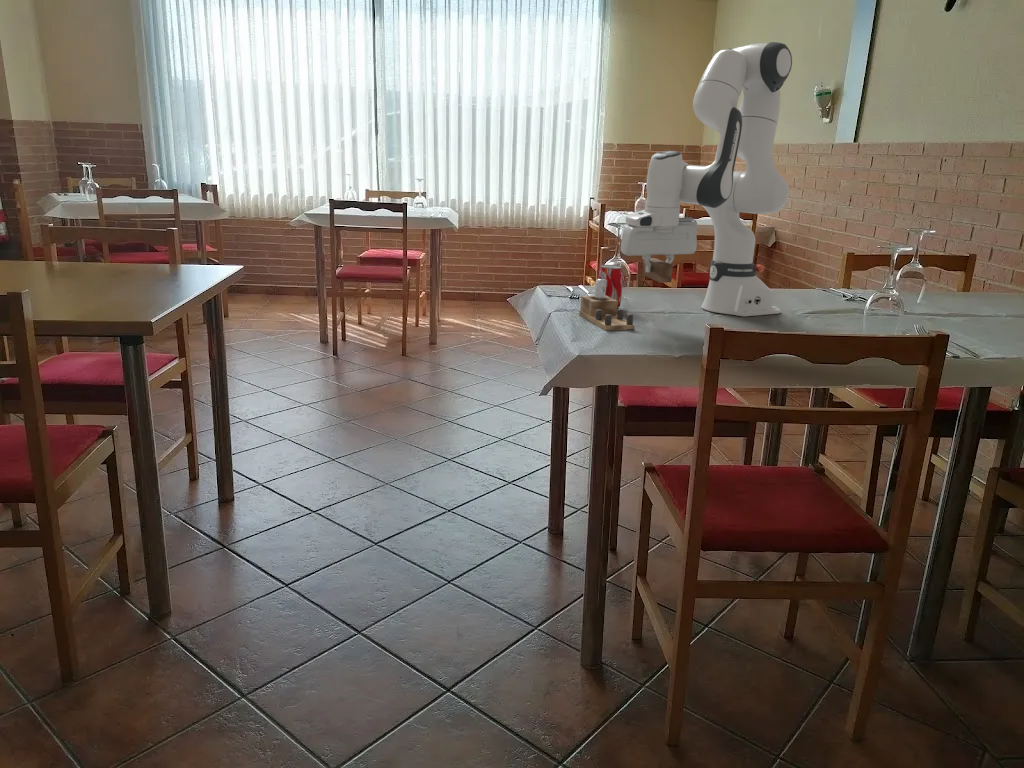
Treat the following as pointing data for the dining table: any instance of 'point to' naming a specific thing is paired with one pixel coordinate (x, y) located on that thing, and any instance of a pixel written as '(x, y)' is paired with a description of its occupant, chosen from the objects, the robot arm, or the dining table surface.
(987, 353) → the dining table surface
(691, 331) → the dining table surface
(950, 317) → the dining table surface
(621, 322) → the board
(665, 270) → the bar
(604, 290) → the pin
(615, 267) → the soda can
